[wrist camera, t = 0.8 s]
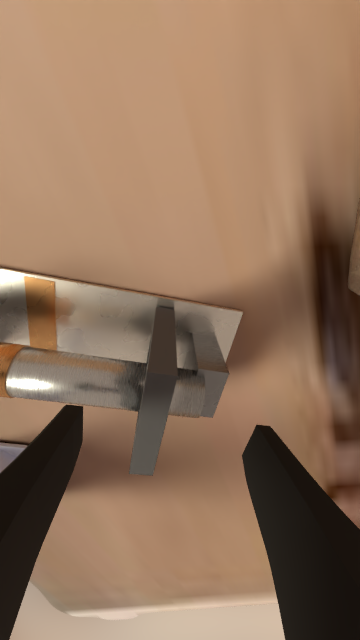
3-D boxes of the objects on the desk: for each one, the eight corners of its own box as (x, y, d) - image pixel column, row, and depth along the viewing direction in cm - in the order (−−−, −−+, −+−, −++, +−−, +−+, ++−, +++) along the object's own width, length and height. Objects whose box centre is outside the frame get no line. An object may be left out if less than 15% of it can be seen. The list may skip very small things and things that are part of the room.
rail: (241, 310, 18) (283, 370, 12) (212, 395, 22) (230, 477, 15) (-67, 255, 16) (-247, 291, 9) (-41, 362, 19) (-152, 445, 13)
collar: (174, 309, 17) (177, 376, 11) (158, 386, 21) (152, 475, 14) (156, 306, 17) (147, 371, 10) (142, 384, 20) (128, 473, 14)
